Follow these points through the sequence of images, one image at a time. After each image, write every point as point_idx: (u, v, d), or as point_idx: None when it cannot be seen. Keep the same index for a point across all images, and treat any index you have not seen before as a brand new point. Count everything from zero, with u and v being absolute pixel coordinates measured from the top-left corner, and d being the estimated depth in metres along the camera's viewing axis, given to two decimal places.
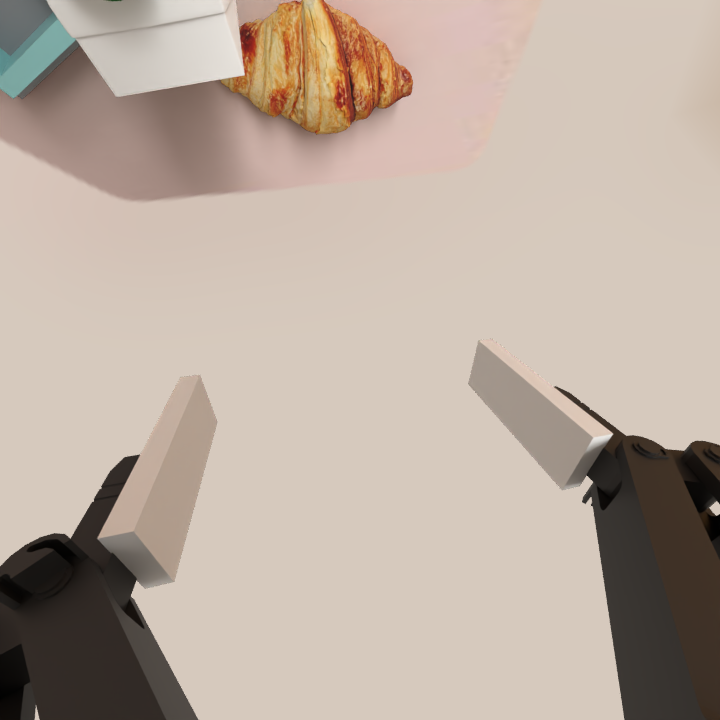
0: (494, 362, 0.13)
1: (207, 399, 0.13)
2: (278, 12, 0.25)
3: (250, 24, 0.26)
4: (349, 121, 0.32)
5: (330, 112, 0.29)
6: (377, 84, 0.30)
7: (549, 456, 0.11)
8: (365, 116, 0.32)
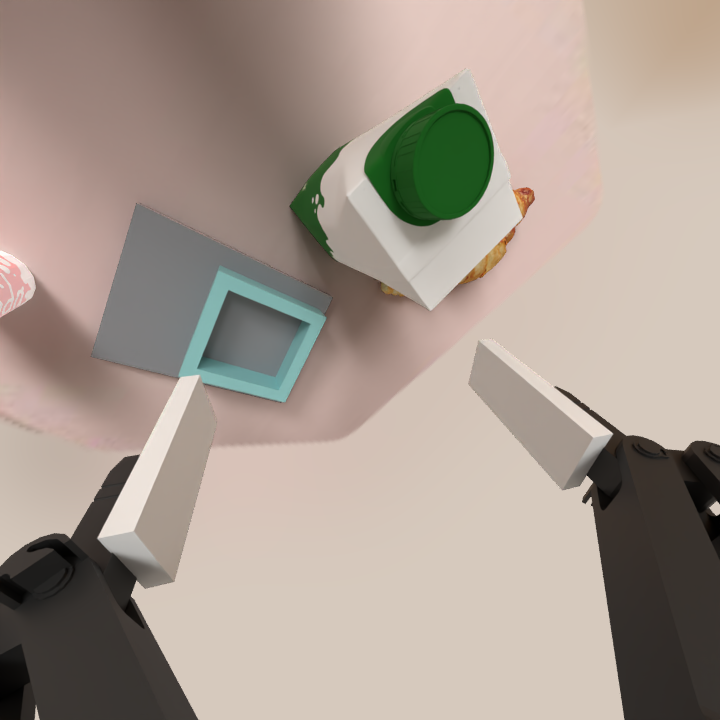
0: (494, 362, 0.13)
1: (207, 399, 0.13)
2: None
3: None
4: (505, 248, 0.33)
5: (495, 249, 0.31)
6: None
7: (549, 456, 0.11)
8: (512, 237, 0.34)
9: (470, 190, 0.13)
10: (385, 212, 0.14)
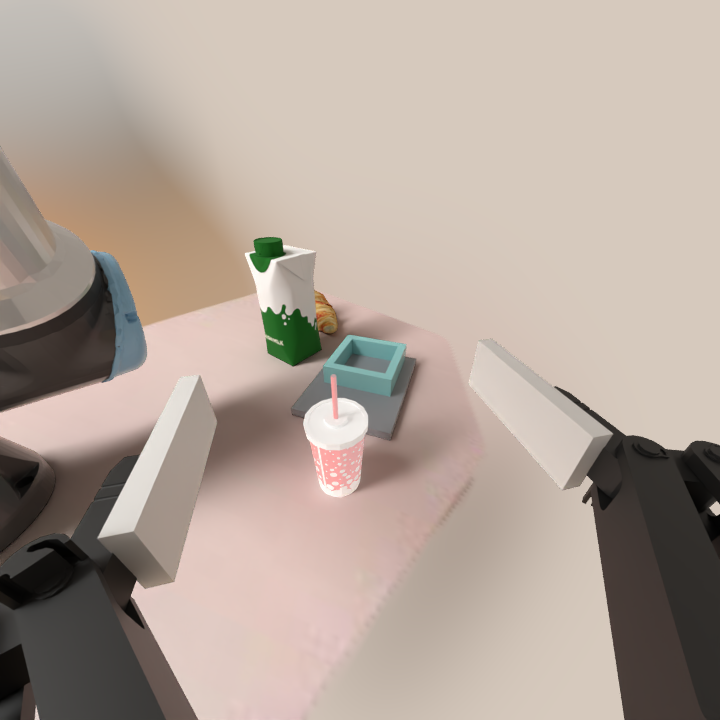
0: (494, 362, 0.13)
1: (207, 399, 0.13)
2: None
3: None
4: None
5: None
6: None
7: (549, 456, 0.11)
8: None
9: (274, 239, 0.43)
10: (281, 257, 0.42)
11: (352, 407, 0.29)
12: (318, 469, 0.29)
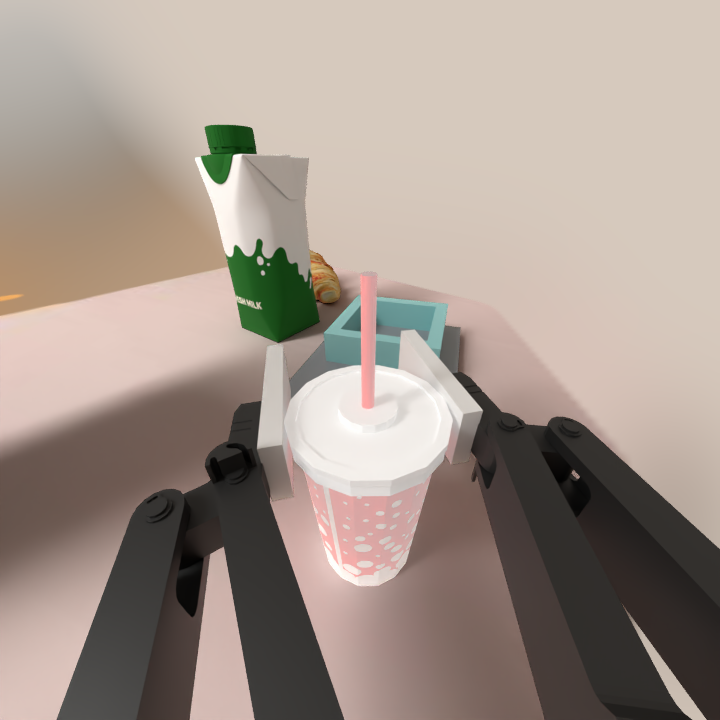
0: (410, 351, 0.14)
1: (285, 366, 0.15)
2: None
3: None
4: None
5: None
6: None
7: None
8: None
9: None
10: None
11: (401, 383, 0.12)
12: (324, 531, 0.12)
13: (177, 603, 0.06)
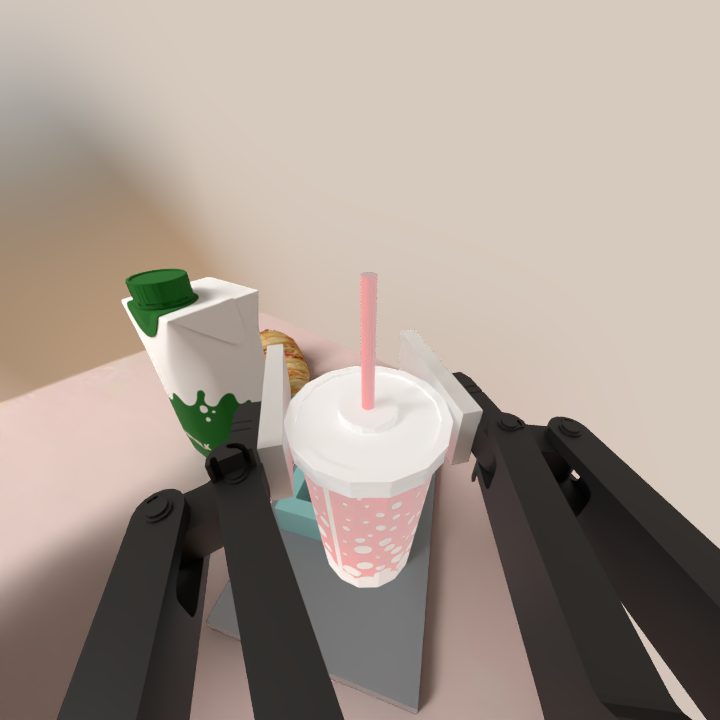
0: (410, 351, 0.14)
1: (285, 366, 0.15)
2: None
3: None
4: None
5: (269, 332, 0.44)
6: None
7: None
8: None
9: (173, 272, 0.23)
10: (183, 309, 0.22)
11: (401, 384, 0.12)
12: (324, 533, 0.12)
13: (177, 603, 0.06)
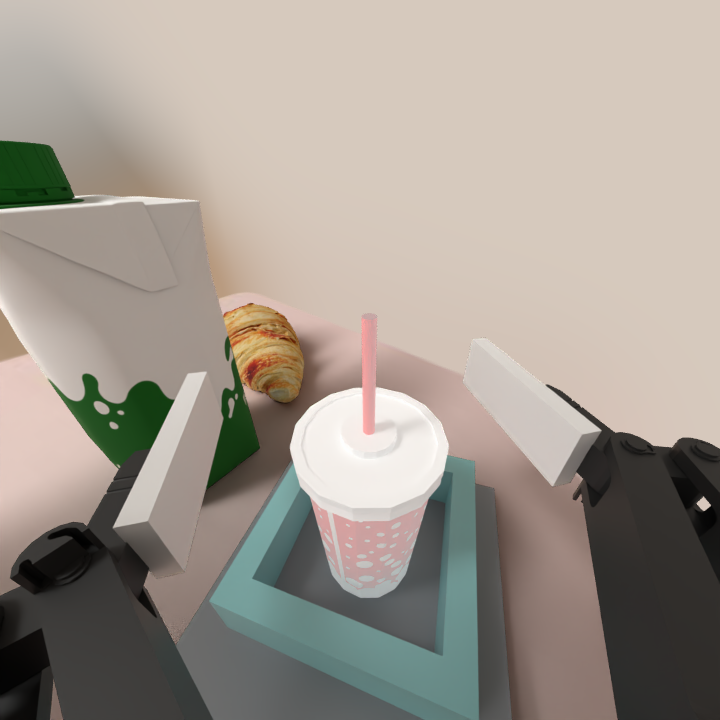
0: (487, 361, 0.14)
1: (214, 395, 0.13)
2: None
3: (247, 381, 0.29)
4: None
5: (253, 307, 0.33)
6: None
7: (540, 453, 0.11)
8: None
9: None
10: (27, 207, 0.11)
11: (400, 406, 0.13)
12: (328, 547, 0.13)
13: None
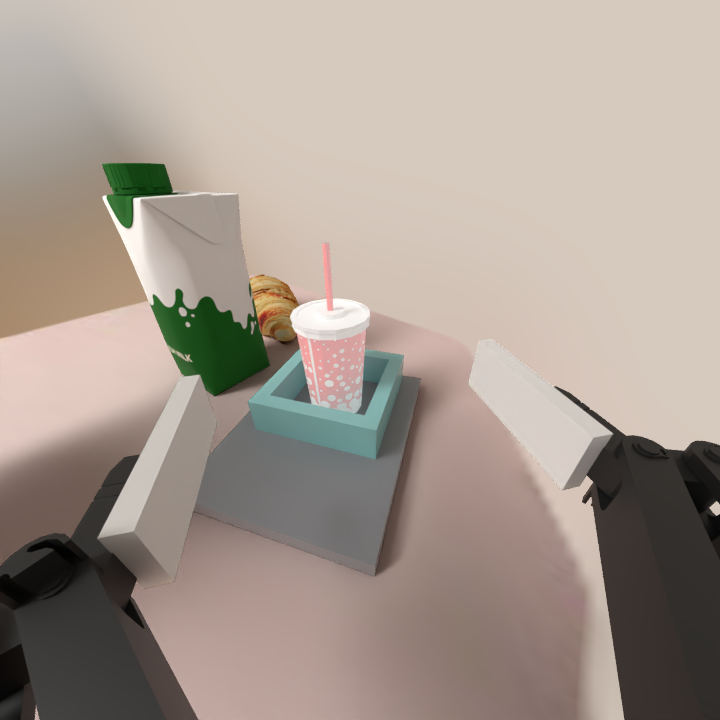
0: (494, 362, 0.13)
1: (207, 399, 0.13)
2: None
3: None
4: None
5: (264, 276, 0.44)
6: None
7: (549, 456, 0.11)
8: None
9: None
10: (159, 196, 0.22)
11: (350, 305, 0.24)
12: (310, 381, 0.24)
13: None
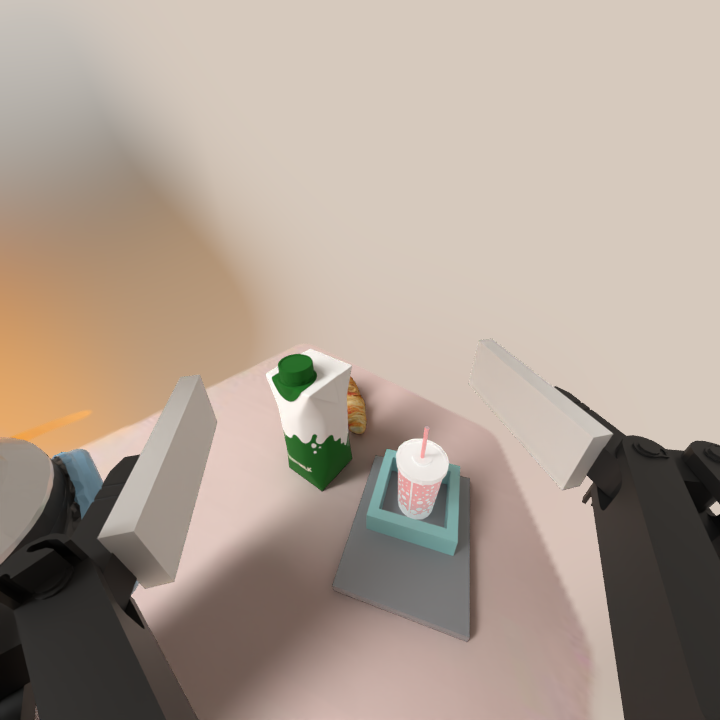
0: (494, 362, 0.13)
1: (207, 399, 0.13)
2: None
3: None
4: None
5: None
6: None
7: (549, 456, 0.11)
8: None
9: (302, 358, 0.35)
10: (313, 385, 0.34)
11: (431, 446, 0.36)
12: (405, 498, 0.36)
13: None
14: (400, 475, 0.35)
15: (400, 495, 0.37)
